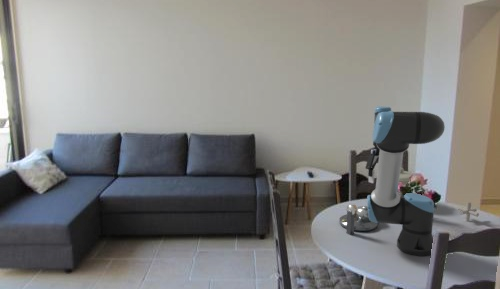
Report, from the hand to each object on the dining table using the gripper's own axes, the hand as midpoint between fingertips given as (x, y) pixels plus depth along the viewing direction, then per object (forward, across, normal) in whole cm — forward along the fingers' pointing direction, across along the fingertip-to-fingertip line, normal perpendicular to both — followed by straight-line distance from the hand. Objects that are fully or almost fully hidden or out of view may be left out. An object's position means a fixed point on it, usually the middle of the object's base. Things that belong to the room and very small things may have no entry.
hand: (379, 180), depth 194 cm
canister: (+20, -27, -7) cm, 34 cm away
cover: (+18, +9, 0) cm, 20 cm away
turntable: (+20, +14, 0) cm, 25 cm away
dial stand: (+20, +25, +5) cm, 33 cm away
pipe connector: (+20, -34, +28) cm, 48 cm away
